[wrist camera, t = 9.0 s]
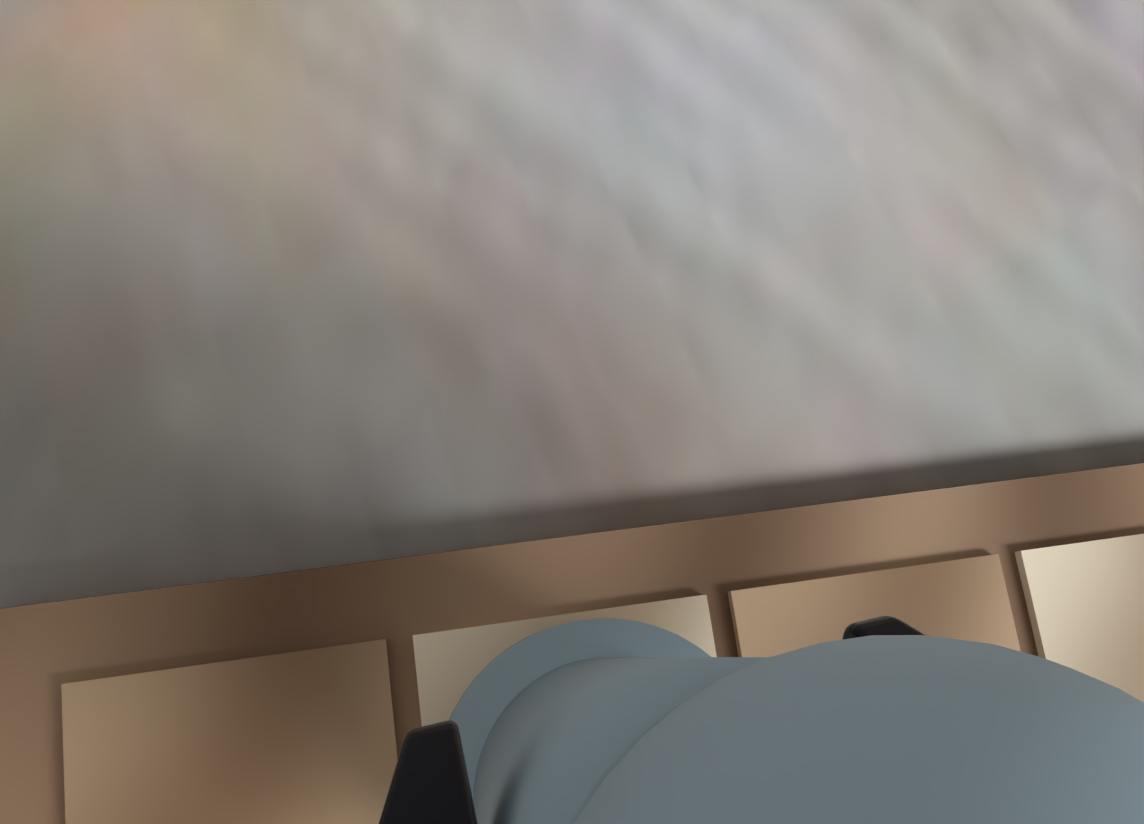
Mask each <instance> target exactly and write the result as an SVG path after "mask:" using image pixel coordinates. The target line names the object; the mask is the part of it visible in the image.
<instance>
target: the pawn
mask: <svg viewBox="0 0 1144 824" xmlns="http://www.w3.org/2000/svg"><path fill="white" fill-rule="evenodd" d="M449 720H451V721H454V722H455V723H456V724H457V725H458V727H459V732H460V737H461V742H462V747H463V752H464V757H465V762H466V767H467V773H468V778H469V783H470V788H471V793H472V798H473V803H474V808H475V814H476V819H477V824H1144V703H1143V702H1141V701H1140V700H1138V699H1136V698H1134V697H1133V696H1131V695H1129V694H1128V693H1126V692H1124V691H1122V690H1121V689H1119V688H1117V687H1114V686H1112V685H1110V684H1107V683H1105V682H1103V681H1100V680H1098V679H1095V678H1093V677H1091V676H1088V675H1086V674H1084V673H1081V672H1079V671H1077V670H1074V669H1072V668H1069V667H1067V666H1064V665H1061V664H1058V663H1056V662H1053V661H1050V660H1048V659H1045V658H1042V657H1038V656H1035V655H1031V654H1028V653H1024V652H1020V651H1017V650H1013V649H1009V648H1006V647H1002V646H999V645H995V644H989V643H982V642H974V641H967V640H959V639H952V638H944V637H935V636H925V635H870V636H864V637H857V638H850V639H844V640H837V641H830V642H824V643H819V644H815V645H811V646H807V647H803V648H800V649H797V650H793V651H790V652H787V653H783V654H780V655H776V656H773V657H711V656H710V655H708V654H707V653H706V652H705V651H703V650H702V649H701V648H699V647H698V646H696V645H695V644H693V643H691V642H690V641H688V640H686V639H684V638H683V637H681V636H679V635H677V634H675V633H672V632H670V631H668V630H665V629H663V628H661V627H658V626H654V625H650V624H647V623H643V622H639V621H633V620H626V619H618V618H594V619H587V620H580V621H573V622H569V623H566V624H562V625H559V626H555V627H552V628H548V629H544V630H542V631H540V632H538V633H535V634H533V635H531V636H528V637H526V638H524V639H522V640H521V641H519V642H517V643H516V644H514V645H512V646H511V647H509V648H507V649H506V650H505V651H504V652H502V653H501V654H500V655H499V656H497V657H496V658H495V659H494V660H492V661H491V662H490V663H489V664H488V665H487V666H486V667H485V668H484V669H483V670H482V671H481V672H480V673H479V674H478V675H477V676H476V678H475V679H474V680H473V682H472V683H471V684H470V686H469V687H468V688H467V690H466V691H465V692H464V694H463V695H462V697H461V698H460V700H459V702H458V704H457V705H456V707H455V709H454V711H453V712H452V714H451V717H450V719H449Z"/></svg>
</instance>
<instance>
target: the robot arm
mask: <svg viewBox="0 0 1144 824" xmlns="http://www.w3.org/2000/svg"><path fill="white" fill-rule="evenodd" d="M870 635H925V634H923V633H921V632H920V631H918V630H916V629H915V628H913V627H911V626H910V625H908V624H906V623H905V622H903V621H901V620H899V619H897V618H895V617H892V616H880V617H876V618H872V619H867V620H863V621H859V622H855V623H852V624H850V625H848V626H847V628H846V629H845V631H844V634H843V638H842V640H844V639H850V638H857V637H864V636H870ZM925 636H926V635H925ZM379 824H477V819H476V814H475V808H474V803H473V798H472V793H471V788H470V783H469V778H468V773H467V767H466V762H465V757H464V752H463V747H462V742H461V737H460V732H459V727H458V725H457V724H456V723H455V722H454V721H451V720H447V721H443V722H439V723H435V724H431V725H427V726H422V727H418V728H415V729H412V730H411V731H409V732H408V734H407V735H406V737H405V739H404V742H403V745H402V748H401V751H400V755H399V758H398V761H397V764H396V768H395V771H394V774H393V778H392V781H391V784H390V788H389V791H388V794H387V797H386V801H385V804H384V807H383V811H382V814H381V817H380V820H379Z"/></svg>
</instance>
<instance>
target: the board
mask: <svg viewBox="0 0 1144 824" xmlns="http://www.w3.org/2000/svg"><path fill="white" fill-rule="evenodd" d="M880 616H892V617H895V618H897V619H899V620H901V621H903V622H905V623H906V624H908V625H910V626H911V627H913V628H915V629H916V630H918V631H920V632H921V633H923V634H925V635H926V636H935V637H944V638H952V639H959V640H967V641H974V642H982V643H989V644H995V645H999V646H1002V647H1006V648H1009V649H1013V650H1017V651H1020V652H1024V653H1028V654H1031V655H1035V656H1038V657H1042V658H1045V659H1048V660H1050V661H1053V662H1056V663H1058V664H1061V665H1064V666H1067V667H1069V668H1072V669H1074V670H1077V671H1079V672H1081V673H1084V674H1086V675H1088V676H1091V677H1093V678H1095V679H1098V680H1100V681H1103V682H1105V683H1107V684H1110V685H1112V686H1114V687H1117V688H1119V689H1121V690H1122V691H1124V692H1126V693H1128V694H1129V695H1131V696H1133V697H1134V698H1136V699H1138V700H1140V701H1141V702H1143V703H1144V463H1140V464H1132V465H1124V466H1116V467H1108V468H1101V469H1093V470H1085V471H1077V472H1069V473H1061V474H1053V475H1046V476H1038V477H1030V478H1022V479H1014V480H1006V481H999V482H991V483H983V484H975V485H967V486H959V487H951V488H944V489H936V490H928V491H920V492H912V493H904V494H896V495H889V496H881V497H873V498H865V499H857V500H849V501H841V502H834V503H826V504H818V505H810V506H802V507H794V508H787V509H779V510H771V511H763V512H755V513H747V514H739V515H732V516H724V517H716V518H708V519H700V520H692V521H684V522H677V523H669V524H661V525H653V526H645V527H637V528H629V529H622V530H614V531H606V532H598V533H590V534H582V535H575V536H567V537H559V538H551V539H543V540H535V541H527V542H520V543H512V544H504V545H496V546H488V547H480V548H472V549H465V550H457V551H449V552H441V553H433V554H425V555H417V556H410V557H402V558H394V559H386V560H378V561H370V562H363V563H355V564H347V565H339V566H331V567H323V568H315V569H308V570H300V571H292V572H284V573H276V574H268V575H260V576H253V577H245V578H237V579H229V580H221V581H213V582H205V583H198V584H190V585H182V586H174V587H166V588H158V589H151V590H143V591H135V592H127V593H119V594H111V595H103V596H96V597H88V598H80V599H72V600H64V601H56V602H48V603H41V604H33V605H25V606H17V607H9V608H1V609H0V824H379V820H380V817H381V814H382V811H383V807H384V804H385V801H386V797H387V794H388V791H389V788H390V784H391V781H392V778H393V774H394V771H395V768H396V764H397V761H398V758H399V755H400V751H401V748H402V745H403V742H404V739H405V737H406V735H407V734H408V732H409V731H411V730H412V729H415V728H418V727H422V726H427V725H431V724H435V723H439V722H443V721H447V720H449V719H450V717H451V714H452V712H453V711H454V709H455V707H456V705H457V704H458V702H459V700H460V698H461V697H462V695H463V694H464V692H465V691H466V690H467V688H468V687H469V686H470V684H471V683H472V682H473V680H474V679H475V678H476V676H477V675H478V674H479V673H480V672H481V671H482V670H483V669H484V668H485V667H486V666H487V665H488V664H489V663H490V662H491V661H492V660H494V659H495V658H496V657H497V656H499V655H500V654H501V653H502V652H504V651H505V650H506V649H507V648H509V647H511V646H512V645H514V644H516V643H517V642H519V641H521V640H522V639H524V638H526V637H528V636H531V635H533V634H535V633H538V632H540V631H542V630H544V629H548V628H552V627H555V626H559V625H562V624H566V623H569V622H573V621H580V620H587V619H594V618H618V619H626V620H633V621H639V622H643V623H647V624H650V625H654V626H658V627H661V628H663V629H665V630H668V631H670V632H672V633H675V634H677V635H679V636H681V637H683V638H684V639H686V640H688V641H690V642H691V643H693V644H695V645H696V646H698V647H699V648H701V649H702V650H703V651H705V652H706V653H707V654H708V655H710V656H711V657H773V656H776V655H780V654H783V653H787V652H790V651H793V650H797V649H800V648H803V647H807V646H811V645H815V644H819V643H824V642H830V641H837V640H842V638H843V634H844V631H845V629H846V628H847V626H848V625H850V624H852V623H855V622H859V621H863V620H867V619H872V618H876V617H880Z"/></svg>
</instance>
